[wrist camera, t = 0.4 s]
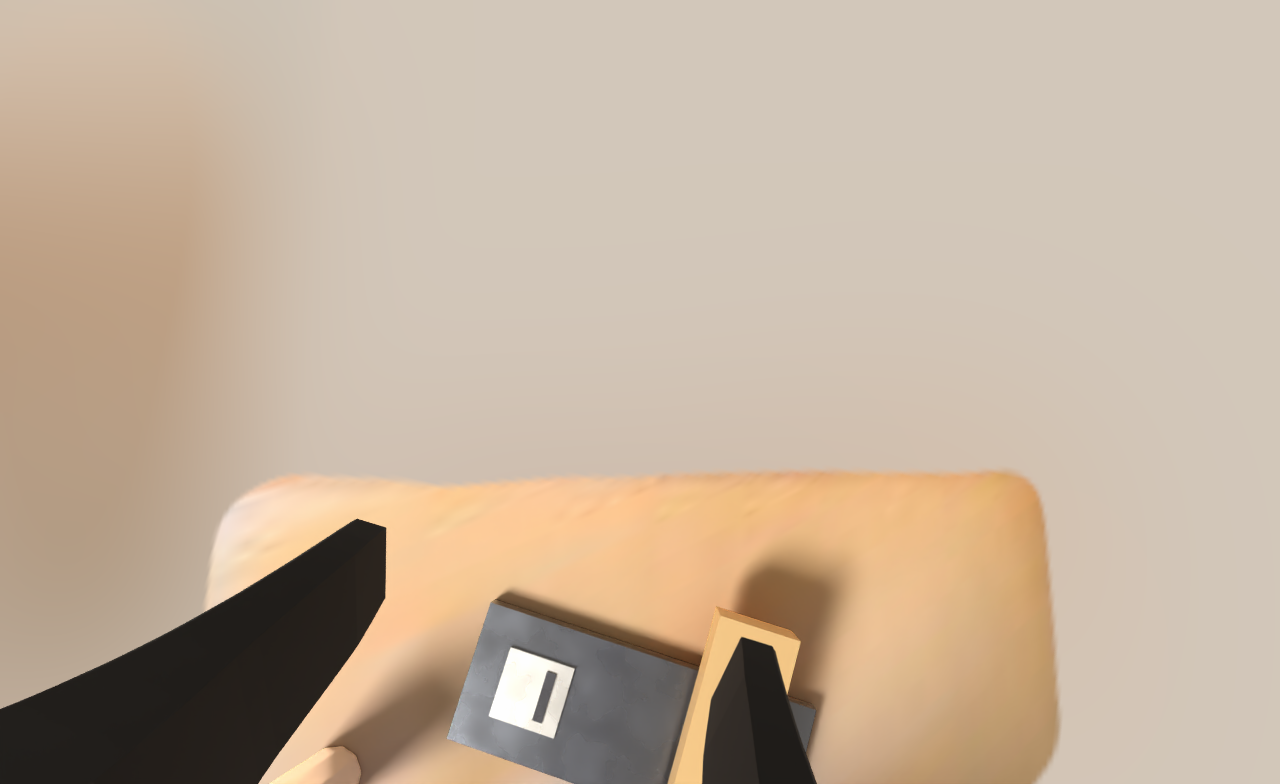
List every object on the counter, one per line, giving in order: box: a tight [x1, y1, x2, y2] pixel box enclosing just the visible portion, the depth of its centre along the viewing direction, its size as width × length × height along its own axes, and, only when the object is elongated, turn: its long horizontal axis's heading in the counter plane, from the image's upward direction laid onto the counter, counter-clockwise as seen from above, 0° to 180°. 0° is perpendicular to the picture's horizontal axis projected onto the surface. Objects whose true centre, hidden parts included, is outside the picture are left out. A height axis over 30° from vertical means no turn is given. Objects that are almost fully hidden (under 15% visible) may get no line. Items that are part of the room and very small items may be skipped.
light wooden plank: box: [668, 607, 801, 784], centre depth 32 cm, size 16×4×2 cm, turn 163°
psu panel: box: [447, 599, 816, 784], centre depth 35 cm, size 8×20×1 cm, turn 73°
